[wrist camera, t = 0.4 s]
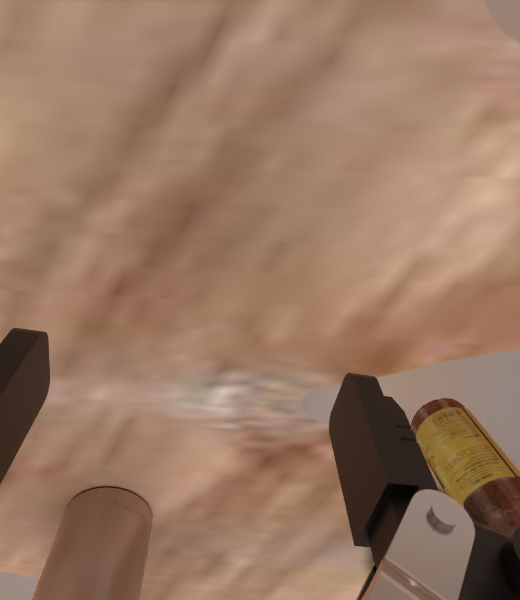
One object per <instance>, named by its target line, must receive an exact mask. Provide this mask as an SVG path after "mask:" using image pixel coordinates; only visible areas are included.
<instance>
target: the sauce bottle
mask: <svg viewBox="0 0 520 600" xmlns="http://www.w3.org/2000/svg"><path fill="white" fill-rule="evenodd" d="M411 428H412V430H413V433H414V435H415V437H416V443H418V444H419V446H420V449H421V451H422V453H423V456H424V457H425V459H426V461H427V462H428V464H429V466H430V467H431V469H432V471H433V472H434V474H435V476H436V478H437V479H438V481H439V483H440V484H441V486H442V488H443V489H444V491H445V493H446V495H448V496H450V497H451V498H453V499H454V500H455V501H457V502H458V503H459V504H460V505H461V506H462V507H463V508H464V509H465V511H466V512H467V513H468V515H469V516H470V518H471V520H472V522H473V523H474V524H476V525H478V526H481V527H483V528H486V529H488V530H491V531H493V532H496V533H498V534H501V535H503V536H506V537H508V538H510V537H511V535H512V534H513V533H514V532H515V531H516V530H517V529H518V528H520V472H519V470H518V469H517V468H516V467H515V465H514V464H513V463H512V462H511V461H510V459H509V458H508V457H507V456H506V455H505V453H504V452H503V451H502V450H501V448H500V447H499V446H498V445H497V444H496V442H495V441H494V440H493V439H492V437H491V436H490V435H489V434H488V433H487V431H486V430H485V429H484V428H483V426H482V425H481V424H480V423H479V422H478V420H477V419H476V418H475V417H474V416H473V414H472V413H471V412H470V411H469V410H467V409H466V408H465V407H464V406H463V405H462V404H460V403H459V402H457V401H455V400H453V399H446V398H444V399H439V400H434V401H431V402H429V403H427V404H426V405H423V406H422V407H421V408H420V409H419V410H418V411H417V413H416V415H415V416H414V418H413V420H412V423H411Z"/></svg>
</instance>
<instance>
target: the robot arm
mask: <svg viewBox="0 0 520 600" xmlns="http://www.w3.org/2000/svg"><path fill="white" fill-rule="evenodd" d="M49 384H50V366H49V343H48V335H47V333H46V332H42V331H34V330H27V329H20V328H13V329H12V330H11V331H10V332H9V333H8V335H7V336H6V337H5V338H4V340H3V341H2V342H1V344H0V484H1V482H2V480H3V478H4V476H5V475H6V473H7V471H8V469H9V467H10V465H11V463H12V461H13V460H14V458H15V456H16V454H17V452H18V450H19V448H20V446H21V445H22V443H23V441H24V439H25V437H26V435H27V433H28V432H29V430H30V428H31V426H32V424H33V422H34V420H35V418H36V417H37V415H38V413H39V411H40V409H41V407H42V405H43V403H44V401H45V399H46V396H47V393H48V389H49ZM329 433H330V438H331V443H332V447H333V452H334V456H335V461H336V465H337V470H338V474H339V479H340V483H341V487H342V492H343V496H344V501H345V505H346V510H347V514H348V519H349V523H350V528H351V532H352V536H353V541H354V545H355V546H363V547H371V550H372V554H373V558H374V564H373V566H372V568H371V570H370V572H369V574H368V576H367V578H366V580H365V582H364V584H363V586H362V588H361V590H360V593H359V595H358V597H357V599H356V600H520V528H518V529H517V530H516V531H515V532H514V533H513V534H512V535H511V537H510V538H508V537H506V536H503V535H501V534H498V533H496V532H493V531H491V530H488V529H486V528H483V527H481V526H478V525H476V524H474V523H473V522H472V520H471V518H470V516H469V515H468V513H467V512H466V511H465V509H464V508H463V507H462V506H461V505H460V504H459V503H458V502H457V501H455V500H454V499H453V498H451V497H450V496H448V495H446V494H444V493H442V492H439V490H438V488H437V485H436V483H435V481H434V479H433V476H432V474H431V472H430V469H429V467H428V465H427V463H426V460H425V458H424V456H423V453H422V451H421V449H420V446H419V444H418V443H416V437H415V435H414V433H413V430H411V426H410V424H409V421H408V419H407V417H406V414H405V412H404V411H403V410H402V409H401V407H400V406H399V405H398V404H397V403H396V402H395V401H394V399H393V398H392V397H386V396H383V393H382V390H381V388H380V385H379V383H378V380H377V379H376V377H374V376H367V375H360V374H353V373H348V374H347V375H346V376H345V378H344V380H343V383H342V385H341V388H340V391H339V394H338V396H337V398H336V401H335V404H334V406H333V409H332V411H331V415H330V421H329ZM151 527H152V513H151V510H150V508H149V507H148V505H147V504H146V503H145V502H144V501H143V500H142V499H141V498H140V497H138V496H137V495H135V494H133V493H131V492H128V491H126V490H122V489H118V488H97V489H92V490H88V491H86V492H83V493H81V494H79V495H78V496H76V497H75V498H74V499H73V500H72V501H71V502H70V503H69V505H68V507H67V508H66V511H65V513H64V516H63V519H62V521H61V524H60V527H59V529H58V532H57V535H56V537H55V540H54V542H53V545H52V548H51V550H50V553H49V556H48V558H47V561H46V564H45V566H44V569H43V572H42V574H41V577H40V580H39V582H38V585H37V588H36V590H35V593H34V596H33V598H32V600H139V598H140V592H141V586H142V580H143V574H144V568H145V562H146V557H147V551H148V545H149V539H150V533H151Z"/></svg>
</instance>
